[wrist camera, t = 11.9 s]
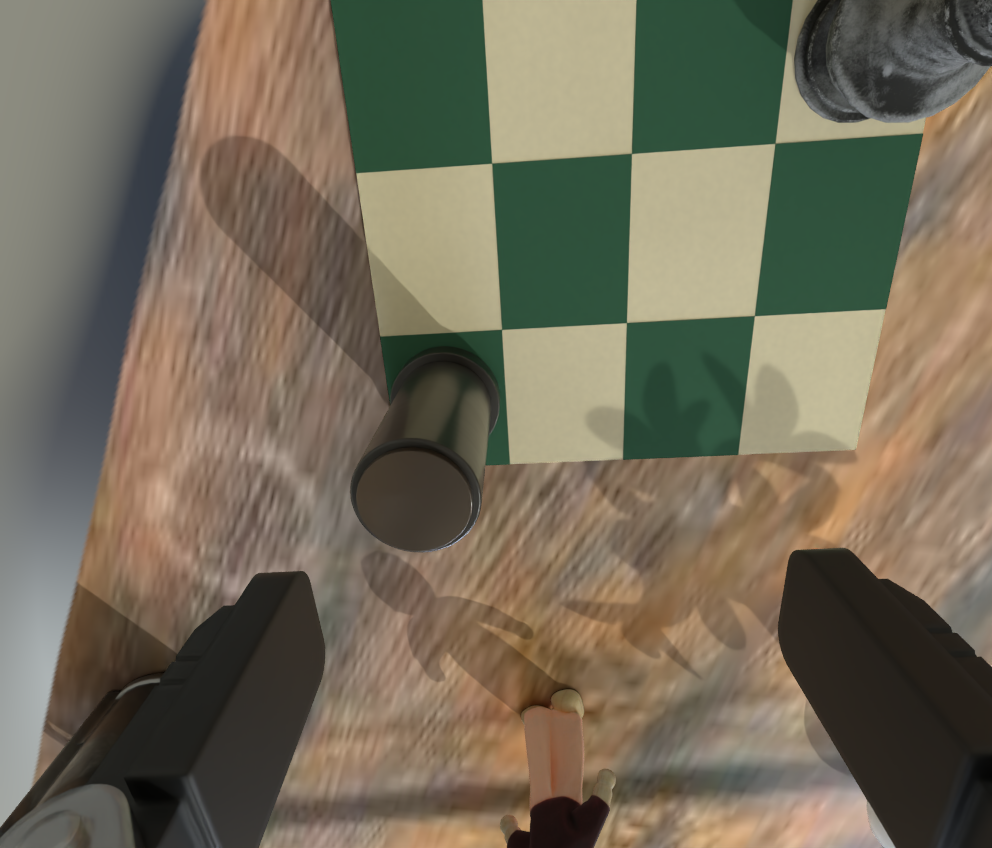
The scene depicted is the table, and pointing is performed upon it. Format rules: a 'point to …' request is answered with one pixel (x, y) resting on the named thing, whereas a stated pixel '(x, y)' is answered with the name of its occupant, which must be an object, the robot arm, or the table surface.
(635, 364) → the chess mat
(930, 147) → the table surface
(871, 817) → the flower vase
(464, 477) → the dark grey cylinder
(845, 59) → the grey tall turned piece
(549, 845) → the grandmother figurine
